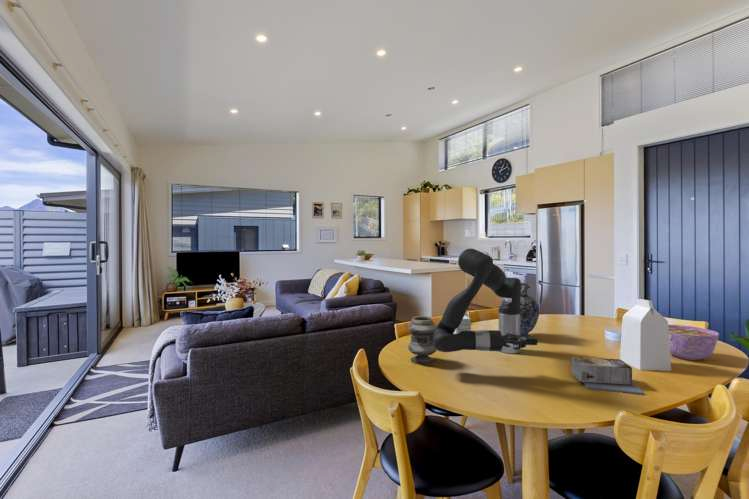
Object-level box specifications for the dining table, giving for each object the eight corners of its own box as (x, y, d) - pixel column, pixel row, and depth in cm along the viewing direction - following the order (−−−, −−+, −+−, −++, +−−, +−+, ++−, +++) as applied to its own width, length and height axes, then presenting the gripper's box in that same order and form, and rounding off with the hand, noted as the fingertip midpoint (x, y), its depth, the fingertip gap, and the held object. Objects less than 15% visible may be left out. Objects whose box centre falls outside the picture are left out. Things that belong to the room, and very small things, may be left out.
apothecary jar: (404, 363, 147) (404, 319, 147) (412, 355, 159) (411, 314, 158) (434, 366, 143) (434, 321, 143) (439, 357, 155) (439, 316, 154)
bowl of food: (654, 357, 152) (654, 330, 152) (658, 347, 167) (659, 322, 167) (719, 368, 138) (719, 338, 138) (718, 356, 153) (718, 329, 153)
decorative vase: (496, 331, 199) (497, 280, 199) (531, 332, 197) (532, 281, 196) (505, 341, 178) (506, 285, 178) (544, 343, 176) (545, 286, 175)
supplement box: (451, 340, 182) (451, 315, 181) (466, 340, 182) (466, 315, 182) (456, 344, 174) (456, 318, 174) (471, 344, 175) (471, 318, 175)
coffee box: (571, 356, 133) (619, 358, 130) (571, 373, 133) (619, 376, 130) (580, 364, 124) (632, 367, 121) (580, 382, 124) (632, 386, 121)
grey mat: (587, 389, 120) (587, 387, 120) (577, 372, 136) (577, 371, 136) (644, 395, 115) (644, 393, 115) (626, 377, 130) (626, 375, 130)
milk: (619, 360, 149) (619, 297, 149) (648, 360, 149) (648, 297, 149) (640, 370, 137) (640, 302, 137) (671, 370, 137) (671, 302, 137)
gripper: (490, 335, 127) (542, 336, 124) (484, 326, 140) (531, 326, 138) (490, 356, 127) (542, 357, 125) (484, 345, 140) (531, 346, 138)
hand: (536, 341), depth 131 cm, fingers closed
